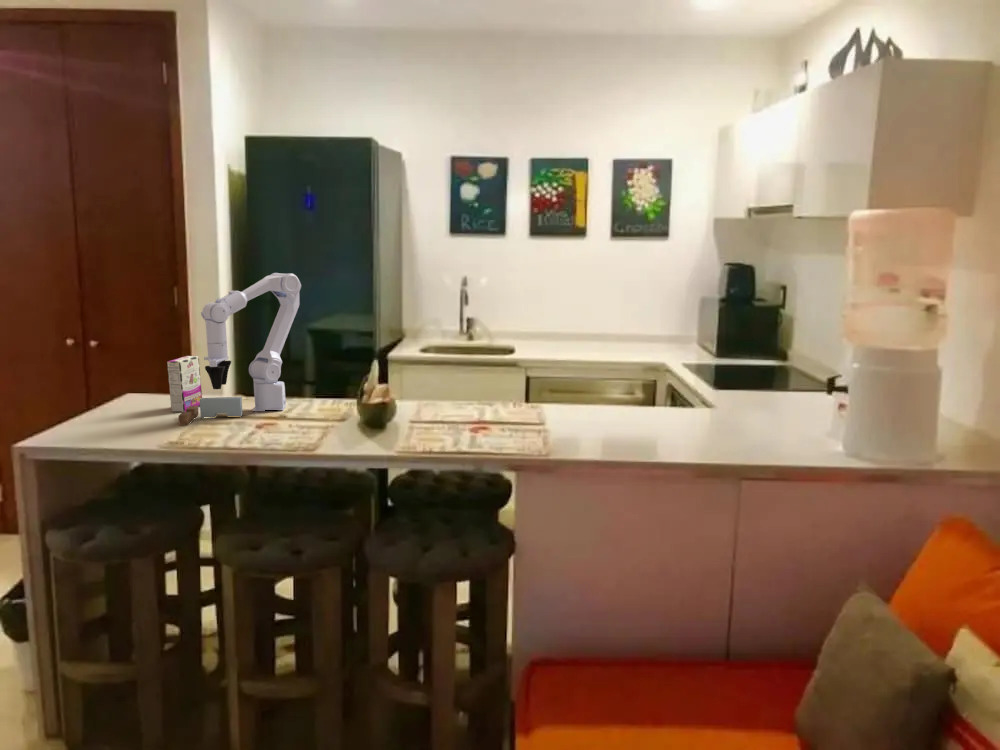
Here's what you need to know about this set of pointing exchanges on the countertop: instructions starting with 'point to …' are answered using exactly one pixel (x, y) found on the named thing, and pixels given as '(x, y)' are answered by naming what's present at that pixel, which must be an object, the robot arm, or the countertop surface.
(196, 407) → the walnut slat
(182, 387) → the candy bar box
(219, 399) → the tapered grey panel
